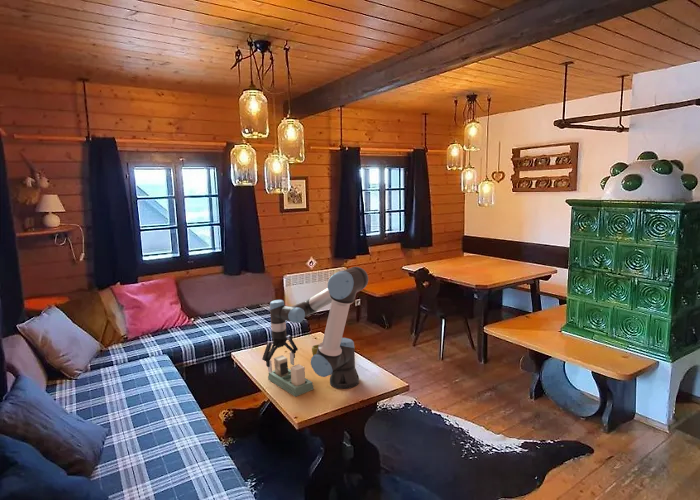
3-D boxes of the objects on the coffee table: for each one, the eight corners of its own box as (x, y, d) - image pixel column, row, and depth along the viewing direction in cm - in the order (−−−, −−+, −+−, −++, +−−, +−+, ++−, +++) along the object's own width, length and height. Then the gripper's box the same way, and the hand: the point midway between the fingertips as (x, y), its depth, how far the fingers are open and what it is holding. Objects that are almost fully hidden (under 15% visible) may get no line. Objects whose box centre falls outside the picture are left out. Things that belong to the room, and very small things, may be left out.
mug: (328, 360, 248) (323, 343, 250) (312, 365, 251) (307, 348, 252) (334, 356, 260) (329, 339, 261) (319, 360, 263) (314, 344, 264)
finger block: (289, 376, 230) (287, 358, 229) (280, 379, 227) (279, 361, 226) (283, 372, 235) (282, 355, 233) (275, 375, 231) (274, 357, 230)
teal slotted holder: (313, 389, 219) (312, 366, 217) (295, 396, 212) (293, 373, 210) (286, 373, 239) (284, 352, 237) (268, 379, 232) (266, 358, 230)
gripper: (295, 322, 238) (297, 359, 241) (253, 334, 222) (256, 373, 225) (302, 325, 232) (305, 363, 235) (260, 337, 216) (264, 377, 220)
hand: (281, 368), depth 230 cm, fingers open, 13 cm apart
